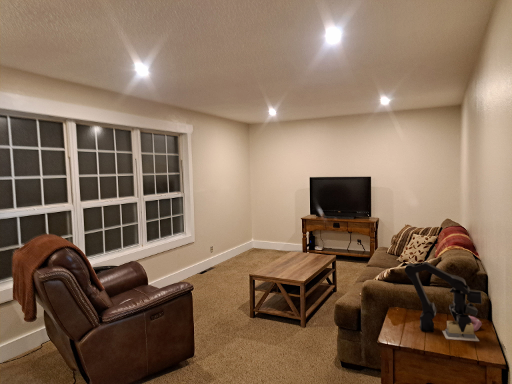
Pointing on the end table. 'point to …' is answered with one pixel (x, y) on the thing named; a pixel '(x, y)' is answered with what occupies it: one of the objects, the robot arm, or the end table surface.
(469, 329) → the gold cutout plate
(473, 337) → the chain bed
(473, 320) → the video game controller
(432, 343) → the end table surface
